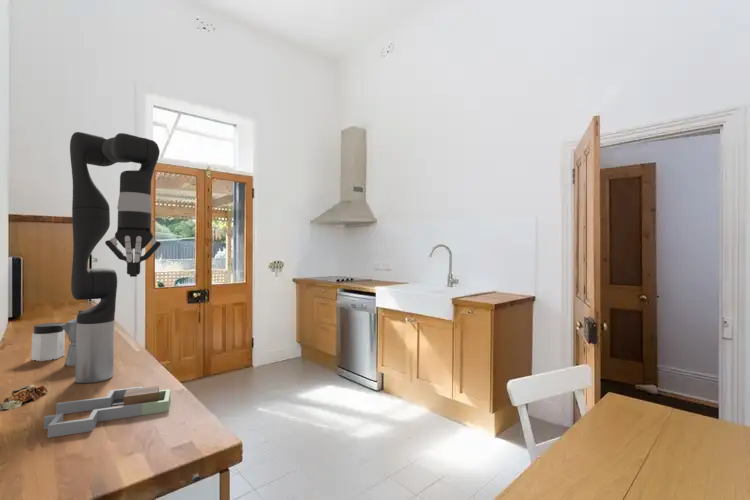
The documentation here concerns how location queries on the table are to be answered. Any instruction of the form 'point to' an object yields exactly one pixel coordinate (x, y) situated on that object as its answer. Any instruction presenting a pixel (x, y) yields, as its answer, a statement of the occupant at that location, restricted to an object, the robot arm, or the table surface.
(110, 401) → the track
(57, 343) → the jar
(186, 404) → the table surface
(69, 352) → the coffee maker
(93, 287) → the robot arm
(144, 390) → the block
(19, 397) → the pastry
